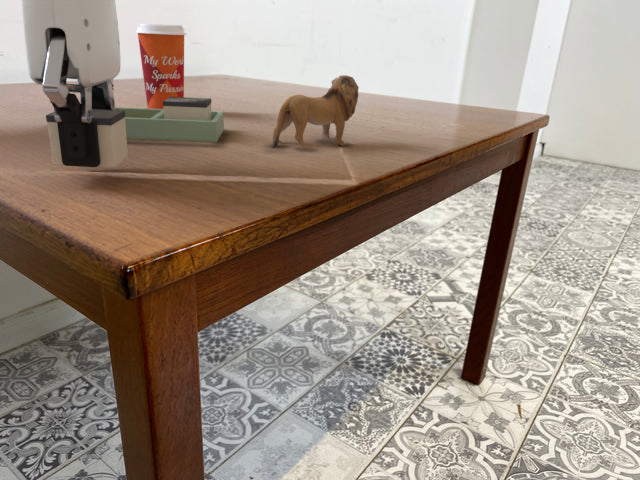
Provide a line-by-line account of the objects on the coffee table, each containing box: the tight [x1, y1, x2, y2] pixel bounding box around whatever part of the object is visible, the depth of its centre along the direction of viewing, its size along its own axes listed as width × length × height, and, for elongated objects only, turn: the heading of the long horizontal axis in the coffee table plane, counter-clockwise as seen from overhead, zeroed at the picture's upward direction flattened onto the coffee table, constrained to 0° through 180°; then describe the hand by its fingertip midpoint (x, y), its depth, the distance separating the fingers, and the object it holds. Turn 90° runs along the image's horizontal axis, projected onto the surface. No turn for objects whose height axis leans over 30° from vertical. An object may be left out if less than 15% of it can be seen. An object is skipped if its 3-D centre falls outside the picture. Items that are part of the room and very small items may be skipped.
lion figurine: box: [271, 74, 360, 148], centre depth 69 cm, size 15×5×9 cm, turn 134°
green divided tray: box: [115, 106, 225, 143], centre depth 70 cm, size 8×16×3 cm, turn 93°
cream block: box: [45, 109, 129, 169], centre depth 49 cm, size 6×4×4 cm
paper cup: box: [135, 22, 188, 109], centre depth 84 cm, size 8×8×14 cm
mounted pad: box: [163, 96, 212, 121], centre depth 70 cm, size 6×4×4 cm
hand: (91, 156), depth 50 cm, fingers closed on cream block, 4 cm apart
